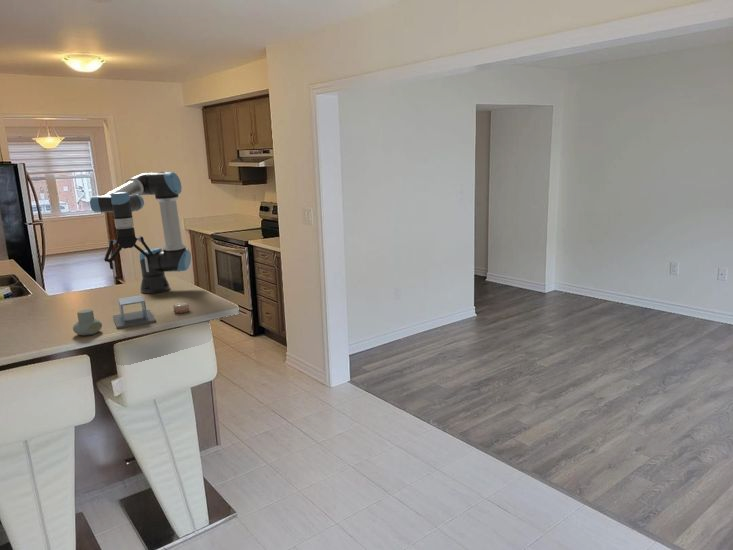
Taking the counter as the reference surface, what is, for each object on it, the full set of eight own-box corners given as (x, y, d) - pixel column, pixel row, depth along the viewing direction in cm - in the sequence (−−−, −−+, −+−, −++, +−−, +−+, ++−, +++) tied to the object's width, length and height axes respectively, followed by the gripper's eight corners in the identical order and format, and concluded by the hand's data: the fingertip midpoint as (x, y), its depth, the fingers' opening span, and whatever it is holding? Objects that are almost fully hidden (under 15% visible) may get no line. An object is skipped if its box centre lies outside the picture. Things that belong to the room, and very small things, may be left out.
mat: (113, 317, 243) (112, 315, 243) (149, 311, 251) (149, 309, 251) (117, 329, 226) (116, 326, 226) (156, 322, 234) (155, 320, 234)
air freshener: (92, 328, 228) (89, 306, 226) (106, 330, 225) (103, 308, 223) (70, 336, 219) (66, 314, 216) (84, 338, 215) (80, 315, 213)
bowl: (172, 311, 250) (171, 304, 249) (187, 308, 253) (186, 301, 252) (175, 314, 244) (174, 307, 243) (190, 312, 247) (190, 305, 247)
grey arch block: (120, 316, 241) (118, 298, 239) (143, 312, 246) (141, 295, 244) (123, 323, 231) (120, 304, 229) (147, 319, 236) (145, 300, 234)
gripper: (94, 231, 223) (101, 279, 228) (155, 225, 235) (161, 271, 240) (93, 229, 229) (100, 276, 234) (153, 223, 241) (159, 268, 246)
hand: (131, 273), depth 237 cm, fingers open, 13 cm apart
